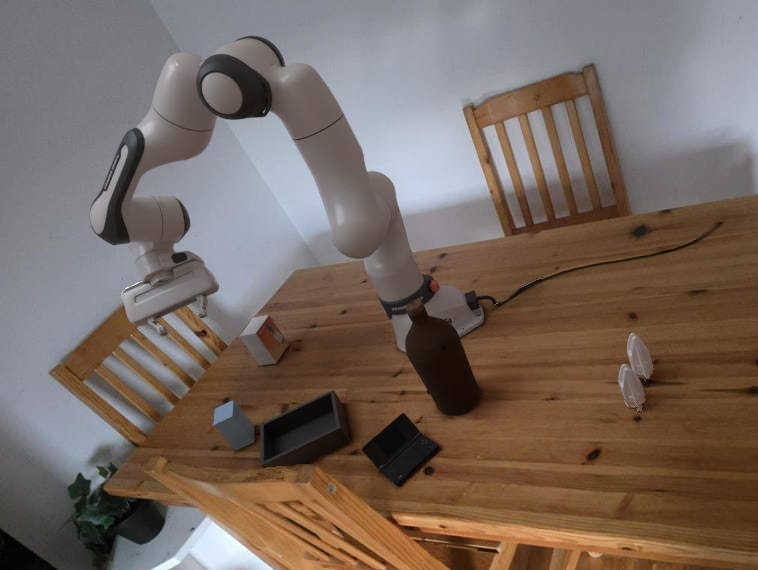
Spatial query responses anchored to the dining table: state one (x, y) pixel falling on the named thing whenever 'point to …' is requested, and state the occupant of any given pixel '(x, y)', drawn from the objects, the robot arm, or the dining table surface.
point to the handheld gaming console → (399, 449)
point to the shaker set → (634, 371)
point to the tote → (304, 432)
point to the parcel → (234, 425)
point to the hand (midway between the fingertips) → (184, 325)
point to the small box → (264, 340)
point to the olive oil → (440, 361)
